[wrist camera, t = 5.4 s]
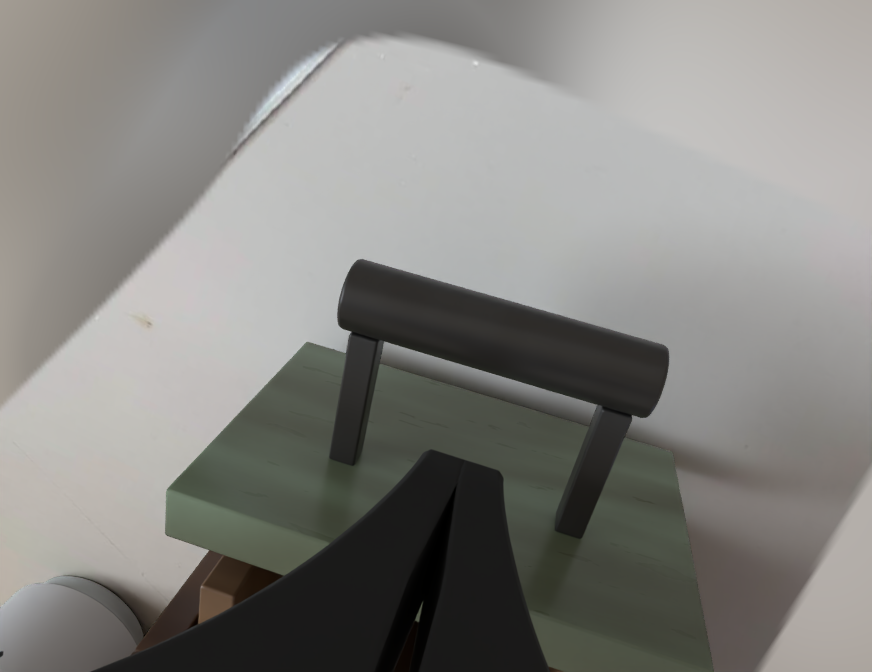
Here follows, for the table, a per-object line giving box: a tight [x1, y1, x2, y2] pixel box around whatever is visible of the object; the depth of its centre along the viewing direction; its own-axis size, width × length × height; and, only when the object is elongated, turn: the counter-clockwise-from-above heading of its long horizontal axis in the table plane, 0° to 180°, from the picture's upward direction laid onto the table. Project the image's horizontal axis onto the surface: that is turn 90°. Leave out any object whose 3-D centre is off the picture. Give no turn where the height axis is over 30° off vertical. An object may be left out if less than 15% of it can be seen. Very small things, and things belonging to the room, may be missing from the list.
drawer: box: [165, 259, 714, 672], centre depth 16 cm, size 17×10×7 cm, turn 168°
